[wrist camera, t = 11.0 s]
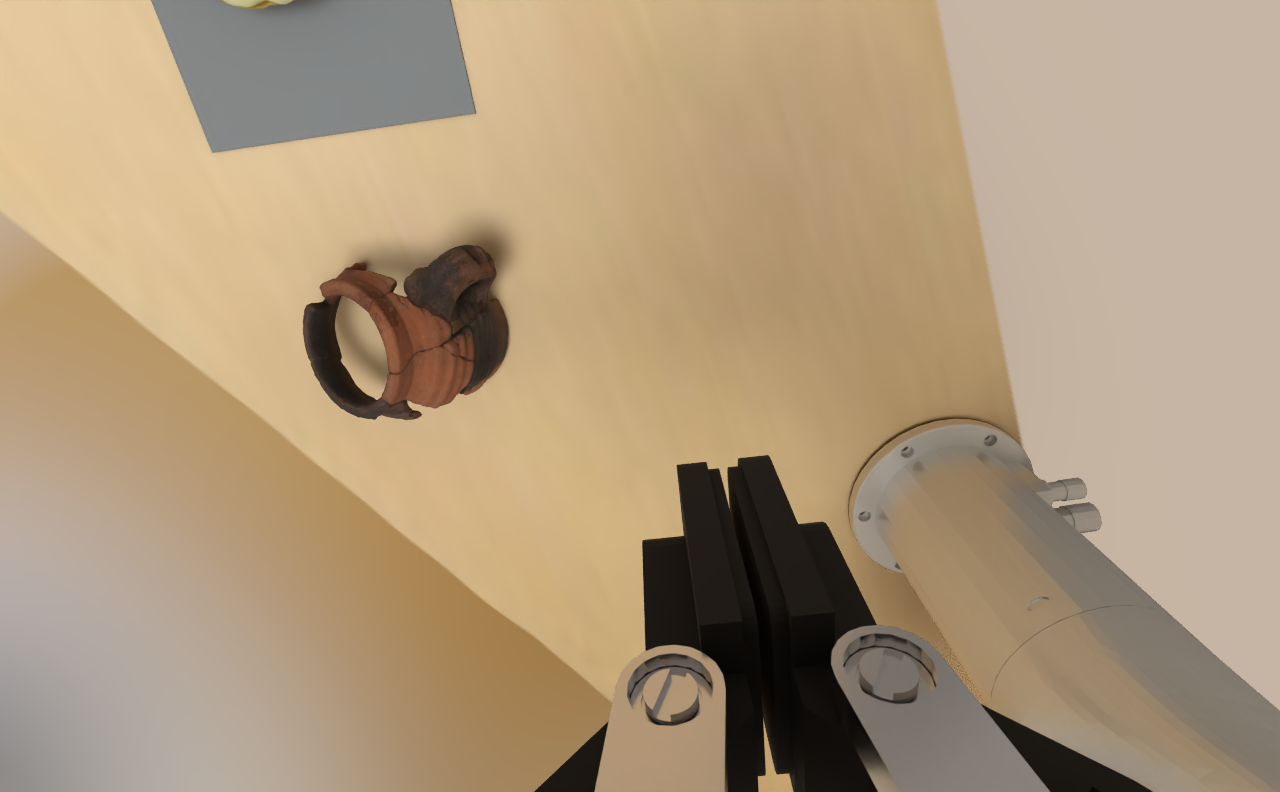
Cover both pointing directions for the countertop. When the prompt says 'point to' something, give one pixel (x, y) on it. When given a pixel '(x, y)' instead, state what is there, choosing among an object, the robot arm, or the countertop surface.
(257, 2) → the decorated donut
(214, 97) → the t mat
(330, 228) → the countertop surface
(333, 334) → the pottery mug
